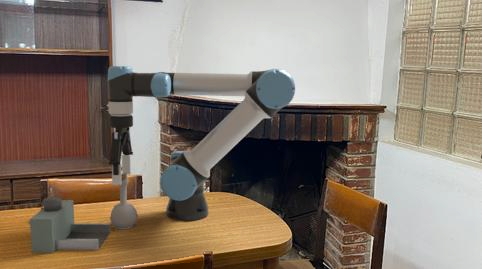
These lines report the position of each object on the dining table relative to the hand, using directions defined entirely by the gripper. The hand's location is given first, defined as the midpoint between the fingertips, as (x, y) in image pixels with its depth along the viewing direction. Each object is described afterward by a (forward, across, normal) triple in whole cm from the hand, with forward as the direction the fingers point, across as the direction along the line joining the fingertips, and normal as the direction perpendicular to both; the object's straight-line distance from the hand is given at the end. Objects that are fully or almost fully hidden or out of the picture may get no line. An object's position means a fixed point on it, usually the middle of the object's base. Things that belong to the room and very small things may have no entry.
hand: (121, 179), depth 147 cm
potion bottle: (+16, 0, 0) cm, 16 cm away
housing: (+16, +13, -18) cm, 27 cm away
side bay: (+16, +13, -9) cm, 22 cm away
